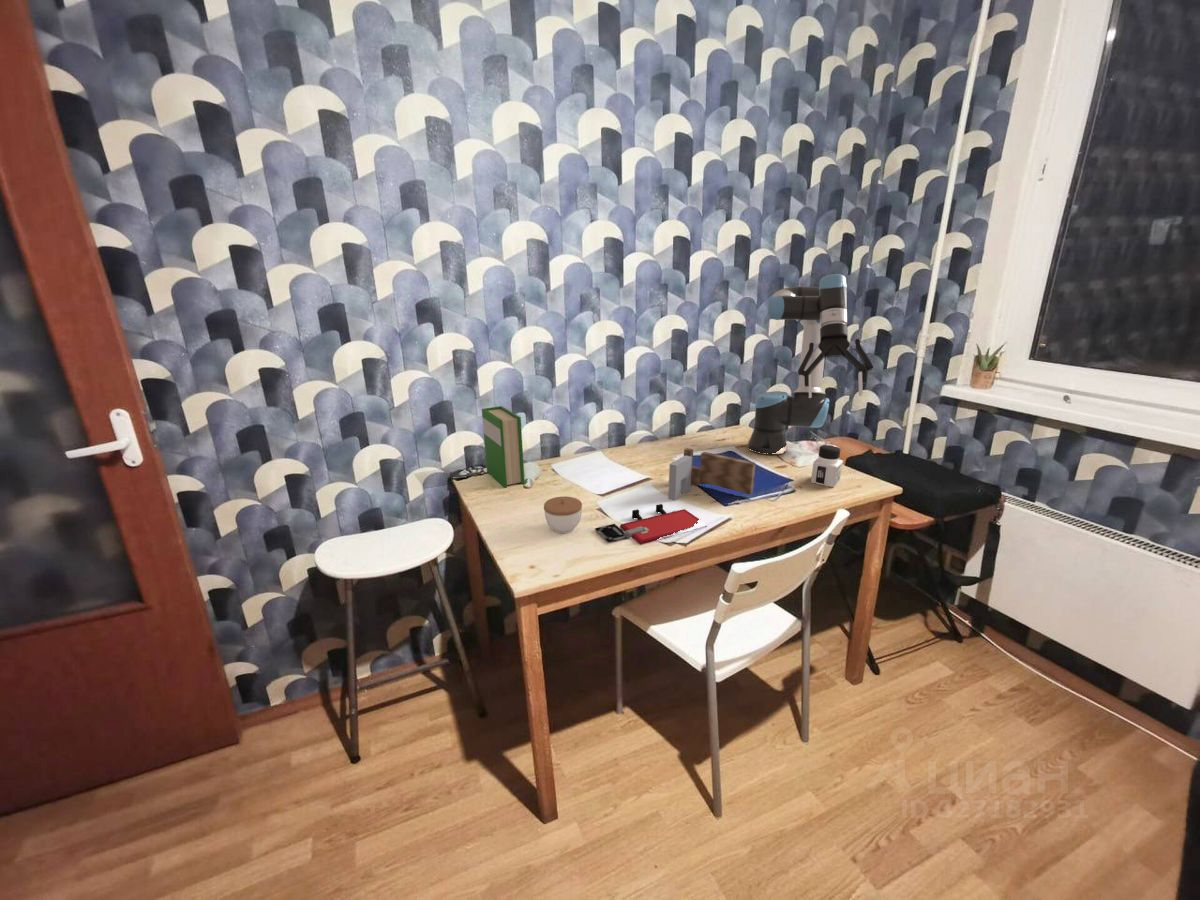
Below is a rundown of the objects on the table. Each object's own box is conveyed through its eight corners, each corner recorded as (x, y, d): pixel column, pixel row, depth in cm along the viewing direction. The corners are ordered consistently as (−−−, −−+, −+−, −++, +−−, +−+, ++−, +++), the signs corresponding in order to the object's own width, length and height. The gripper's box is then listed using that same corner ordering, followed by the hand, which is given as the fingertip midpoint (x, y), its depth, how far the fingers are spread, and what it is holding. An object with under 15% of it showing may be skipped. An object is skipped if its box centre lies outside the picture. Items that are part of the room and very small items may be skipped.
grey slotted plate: (668, 498, 172) (669, 464, 168) (683, 488, 179) (685, 455, 175) (675, 500, 170) (676, 465, 166) (690, 490, 178) (692, 456, 174)
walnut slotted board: (682, 482, 185) (684, 449, 181) (685, 480, 186) (686, 447, 182) (749, 499, 170) (753, 464, 167) (752, 497, 172) (755, 462, 168)
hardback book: (524, 483, 185) (520, 417, 177) (504, 488, 181) (499, 420, 173) (506, 468, 199) (501, 406, 191) (487, 472, 196) (481, 408, 188)
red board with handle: (591, 528, 153) (616, 552, 141) (591, 519, 152) (616, 543, 140) (677, 508, 166) (707, 529, 154) (677, 500, 165) (708, 520, 153)
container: (833, 488, 179) (839, 451, 174) (810, 482, 183) (815, 447, 179) (840, 481, 184) (845, 445, 180) (817, 476, 189) (821, 441, 185)
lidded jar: (537, 528, 153) (535, 498, 150) (565, 516, 160) (564, 488, 157) (561, 541, 146) (560, 510, 143) (590, 528, 153) (589, 498, 150)
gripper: (789, 326, 160) (789, 395, 157) (882, 317, 151) (884, 390, 149) (789, 334, 167) (790, 400, 164) (878, 326, 158) (880, 396, 156)
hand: (835, 396), depth 156 cm, fingers open, 13 cm apart
